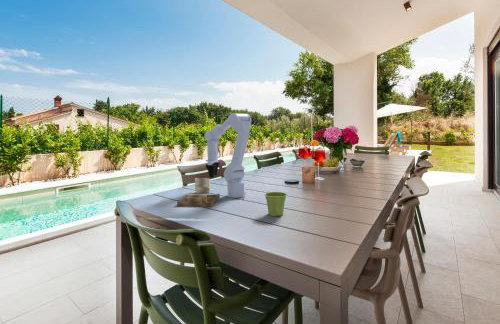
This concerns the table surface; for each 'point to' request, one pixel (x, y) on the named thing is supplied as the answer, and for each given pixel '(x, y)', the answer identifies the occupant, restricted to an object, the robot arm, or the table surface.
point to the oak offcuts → (197, 198)
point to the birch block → (202, 185)
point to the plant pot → (275, 203)
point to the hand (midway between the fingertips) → (213, 176)
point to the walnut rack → (210, 202)
